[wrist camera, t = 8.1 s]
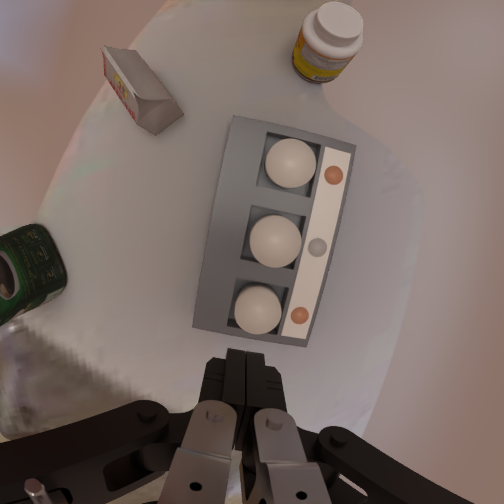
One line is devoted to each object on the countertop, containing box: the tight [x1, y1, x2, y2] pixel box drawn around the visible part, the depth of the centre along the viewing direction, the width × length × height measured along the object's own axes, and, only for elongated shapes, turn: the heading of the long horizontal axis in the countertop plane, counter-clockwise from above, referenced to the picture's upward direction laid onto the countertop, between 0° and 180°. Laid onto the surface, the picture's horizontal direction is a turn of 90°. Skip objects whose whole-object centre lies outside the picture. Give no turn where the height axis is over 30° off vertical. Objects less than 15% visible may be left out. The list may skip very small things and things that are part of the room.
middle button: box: [250, 214, 302, 268], centre depth 28 cm, size 4×4×3 cm
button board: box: [192, 115, 356, 347], centre depth 30 cm, size 21×12×3 cm, turn 168°
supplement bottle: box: [292, 2, 364, 83], centre depth 23 cm, size 6×6×10 cm
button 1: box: [235, 282, 282, 334], centre depth 30 cm, size 4×4×3 cm
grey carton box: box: [101, 45, 184, 135], centre depth 24 cm, size 4×7×10 cm, turn 34°
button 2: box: [264, 139, 316, 188], centre depth 28 cm, size 4×4×3 cm
